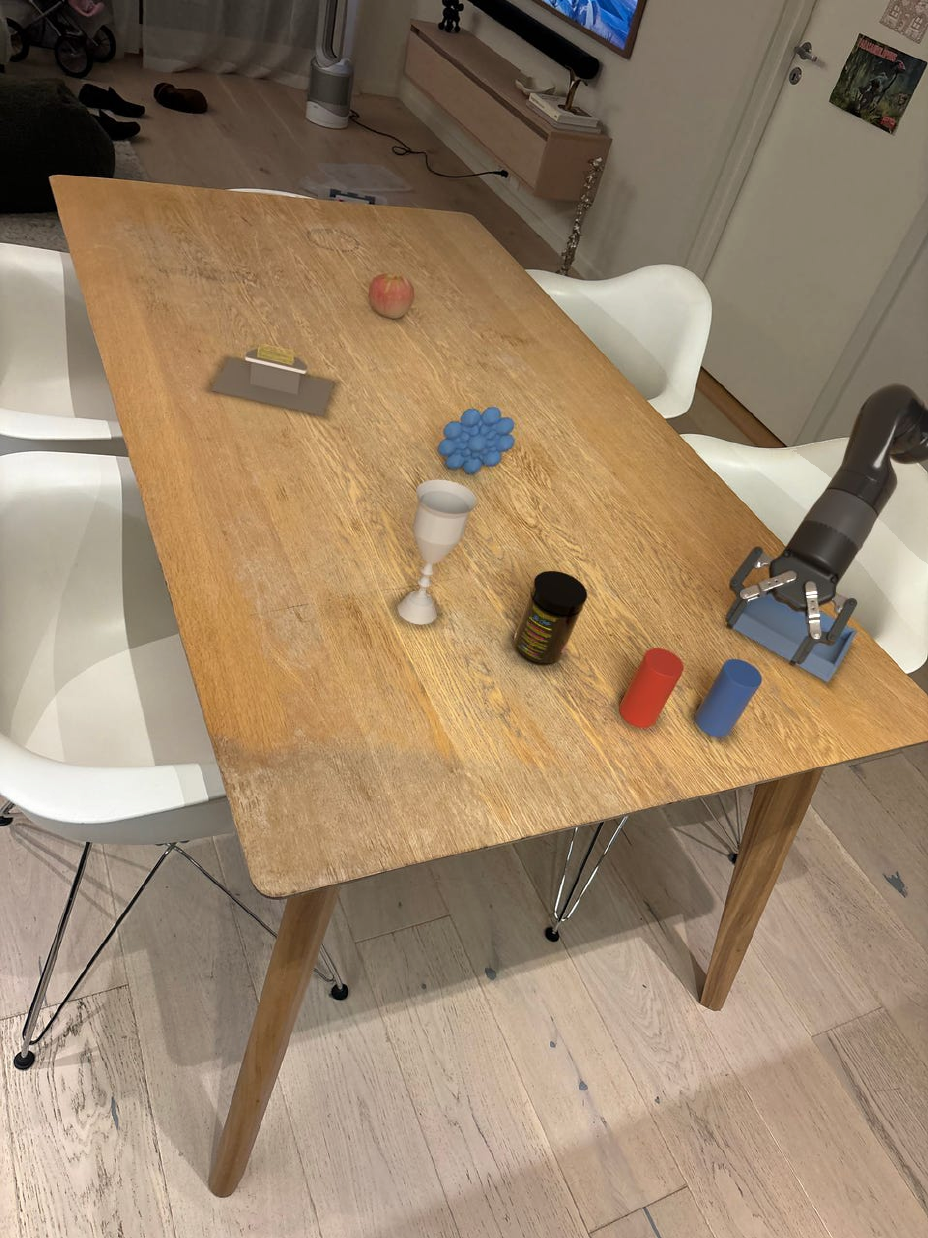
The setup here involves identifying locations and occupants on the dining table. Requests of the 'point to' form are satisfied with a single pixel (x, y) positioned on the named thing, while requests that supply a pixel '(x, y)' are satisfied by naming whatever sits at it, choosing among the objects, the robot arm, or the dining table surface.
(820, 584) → the robot arm
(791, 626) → the blue tray
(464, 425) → the blue bubble cluster
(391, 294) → the apple
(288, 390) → the platform
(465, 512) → the chalice
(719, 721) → the blue pin
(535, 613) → the supplement container
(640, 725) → the red pin
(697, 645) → the dining table surface
